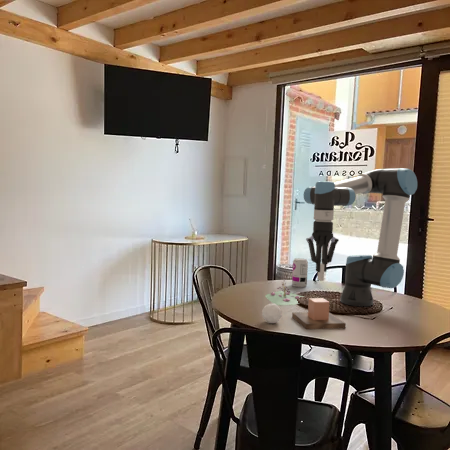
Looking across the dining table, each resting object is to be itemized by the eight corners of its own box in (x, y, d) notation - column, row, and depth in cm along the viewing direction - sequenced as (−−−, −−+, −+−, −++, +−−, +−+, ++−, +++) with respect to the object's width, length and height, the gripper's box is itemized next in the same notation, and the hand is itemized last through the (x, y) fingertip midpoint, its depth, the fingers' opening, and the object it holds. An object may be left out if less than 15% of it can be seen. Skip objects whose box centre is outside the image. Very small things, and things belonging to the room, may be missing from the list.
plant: (309, 308, 202) (310, 288, 202) (264, 305, 204) (265, 286, 203) (303, 295, 227) (304, 278, 227) (263, 293, 228) (263, 276, 228)
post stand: (328, 316, 187) (329, 297, 187) (345, 328, 172) (346, 307, 171) (292, 317, 184) (293, 298, 184) (306, 329, 169) (307, 308, 168)
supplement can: (291, 286, 244) (293, 259, 243) (292, 283, 252) (293, 257, 251) (306, 288, 243) (308, 260, 242) (306, 284, 251) (307, 258, 250)
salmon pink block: (322, 315, 181) (323, 298, 181) (328, 319, 175) (329, 302, 175) (307, 315, 180) (308, 298, 180) (313, 319, 174) (314, 302, 174)
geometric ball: (270, 330, 174) (263, 317, 170) (263, 318, 181) (256, 304, 177) (287, 321, 174) (280, 307, 170) (280, 309, 181) (273, 296, 177)
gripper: (311, 221, 170) (308, 282, 172) (342, 221, 172) (339, 281, 174) (304, 219, 177) (301, 278, 179) (334, 220, 180) (331, 277, 182)
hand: (320, 279), depth 177 cm, fingers closed
